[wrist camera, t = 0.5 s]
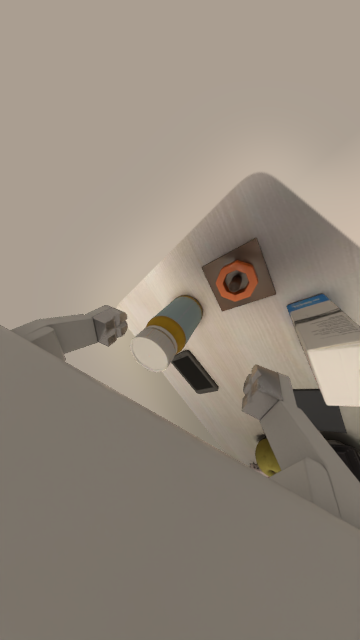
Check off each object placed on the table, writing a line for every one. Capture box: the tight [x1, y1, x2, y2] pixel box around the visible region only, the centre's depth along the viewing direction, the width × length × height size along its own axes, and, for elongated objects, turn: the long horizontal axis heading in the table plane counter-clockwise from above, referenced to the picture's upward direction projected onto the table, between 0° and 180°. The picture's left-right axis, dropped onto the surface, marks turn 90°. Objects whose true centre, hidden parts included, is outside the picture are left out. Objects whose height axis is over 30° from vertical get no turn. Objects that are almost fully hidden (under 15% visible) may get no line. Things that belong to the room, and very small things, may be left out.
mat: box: [293, 389, 346, 433], centre depth 33 cm, size 14×12×1 cm
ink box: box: [287, 294, 360, 407], centre depth 20 cm, size 9×5×12 cm, turn 33°
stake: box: [202, 238, 276, 311], centre depth 24 cm, size 9×9×5 cm
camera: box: [327, 440, 360, 482], centre depth 30 cm, size 11×11×15 cm
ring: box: [216, 260, 258, 302], centre depth 24 cm, size 6×6×2 cm
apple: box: [255, 439, 282, 477], centre depth 39 cm, size 8×8×7 cm
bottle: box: [130, 296, 202, 372], centre depth 27 cm, size 7×7×15 cm
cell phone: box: [171, 351, 218, 394], centre depth 41 cm, size 7×14×1 cm, turn 42°
